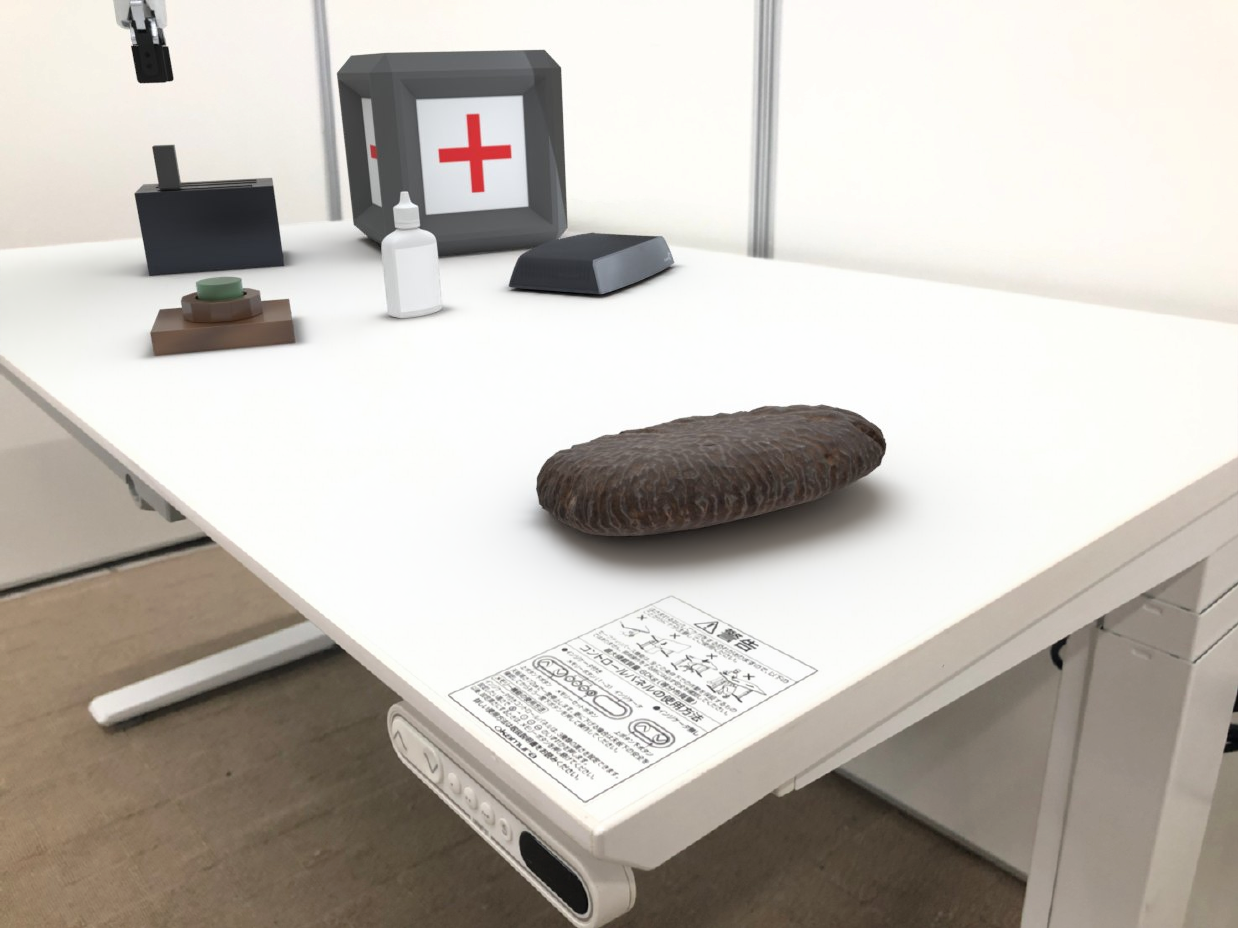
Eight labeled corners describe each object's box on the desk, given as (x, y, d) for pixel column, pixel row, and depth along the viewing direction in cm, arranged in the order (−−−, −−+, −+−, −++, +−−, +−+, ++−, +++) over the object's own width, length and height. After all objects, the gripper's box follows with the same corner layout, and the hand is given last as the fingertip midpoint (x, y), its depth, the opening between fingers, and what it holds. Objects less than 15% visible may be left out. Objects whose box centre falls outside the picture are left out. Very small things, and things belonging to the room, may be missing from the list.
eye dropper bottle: (446, 315, 106) (436, 192, 101) (389, 320, 104) (376, 196, 100) (440, 306, 110) (430, 188, 105) (385, 311, 108) (372, 191, 104)
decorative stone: (756, 435, 70) (758, 361, 68) (925, 501, 59) (933, 416, 57) (497, 505, 60) (491, 421, 58) (643, 601, 49) (641, 501, 47)
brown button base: (154, 356, 93) (146, 312, 92) (163, 331, 102) (155, 290, 101) (295, 343, 96) (289, 300, 95) (292, 320, 105) (286, 280, 104)
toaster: (149, 276, 130) (133, 192, 126) (156, 262, 140) (142, 183, 136) (284, 266, 134) (273, 184, 131) (282, 253, 144) (272, 176, 141)
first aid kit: (352, 238, 155) (331, 56, 146) (512, 224, 165) (502, 52, 156) (392, 263, 134) (371, 52, 125) (574, 246, 144) (566, 49, 135)
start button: (197, 305, 96) (194, 286, 95) (199, 297, 99) (196, 278, 99) (244, 301, 97) (241, 282, 96) (244, 293, 100) (241, 275, 100)
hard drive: (680, 267, 127) (680, 233, 126) (607, 299, 111) (606, 260, 110) (585, 261, 133) (584, 228, 131) (502, 290, 117) (499, 253, 115)
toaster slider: (159, 189, 128) (151, 146, 126) (160, 187, 129) (153, 145, 128) (180, 188, 128) (173, 145, 127) (181, 186, 130) (174, 144, 128)
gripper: (102, -71, 125) (130, 82, 131) (80, -90, 110) (113, 84, 116) (169, -71, 127) (194, 80, 134) (157, -90, 112) (186, 82, 118)
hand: (156, 82), depth 125 cm, fingers open, 9 cm apart
